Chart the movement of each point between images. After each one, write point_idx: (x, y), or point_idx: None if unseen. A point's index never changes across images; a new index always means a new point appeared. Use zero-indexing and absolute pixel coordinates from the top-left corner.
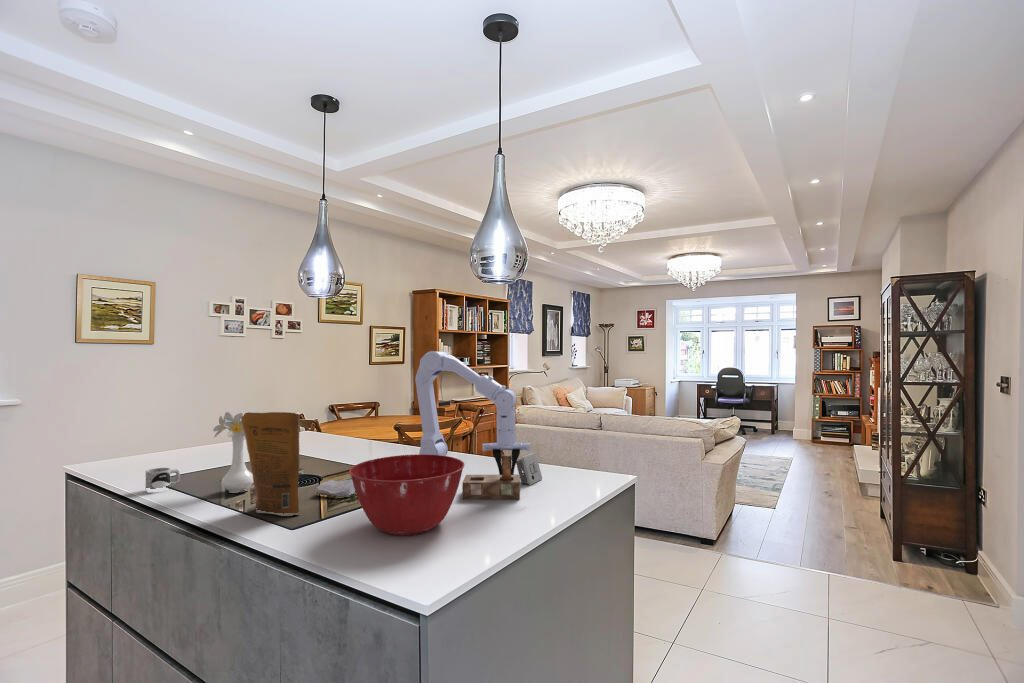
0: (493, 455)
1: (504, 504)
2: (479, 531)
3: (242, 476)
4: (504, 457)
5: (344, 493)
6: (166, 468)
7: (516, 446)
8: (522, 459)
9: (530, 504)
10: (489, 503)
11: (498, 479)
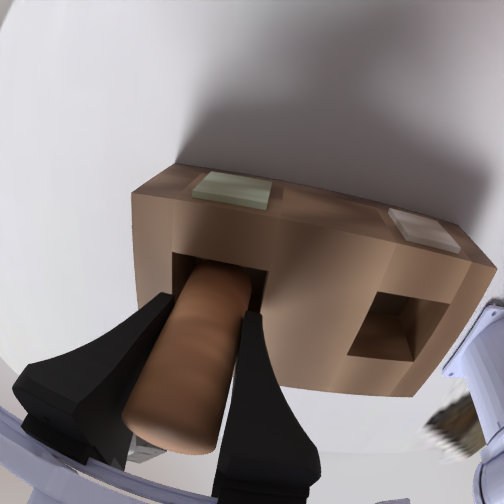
0: (315, 447)
1: (266, 82)
2: None
3: None
4: (184, 413)
5: None
6: None
7: (8, 452)
8: (131, 442)
9: (131, 73)
10: (349, 120)
11: (271, 297)
